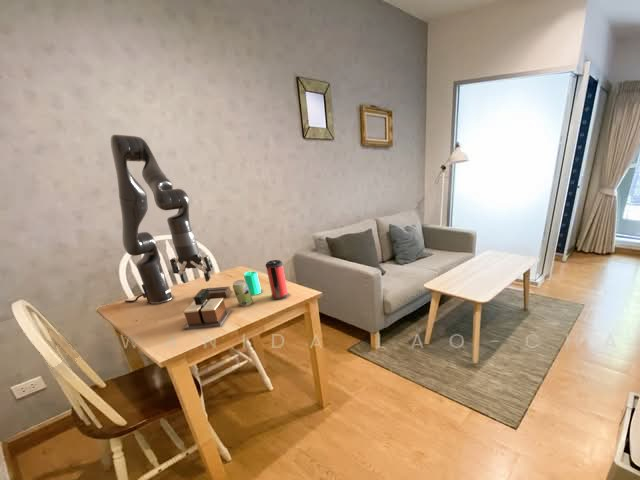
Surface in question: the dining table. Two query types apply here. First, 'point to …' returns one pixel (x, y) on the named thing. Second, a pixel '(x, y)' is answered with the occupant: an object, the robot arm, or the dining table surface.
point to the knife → (201, 297)
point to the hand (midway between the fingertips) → (196, 281)
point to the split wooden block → (206, 314)
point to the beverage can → (242, 292)
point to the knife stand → (219, 292)
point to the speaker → (277, 279)
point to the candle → (252, 282)
